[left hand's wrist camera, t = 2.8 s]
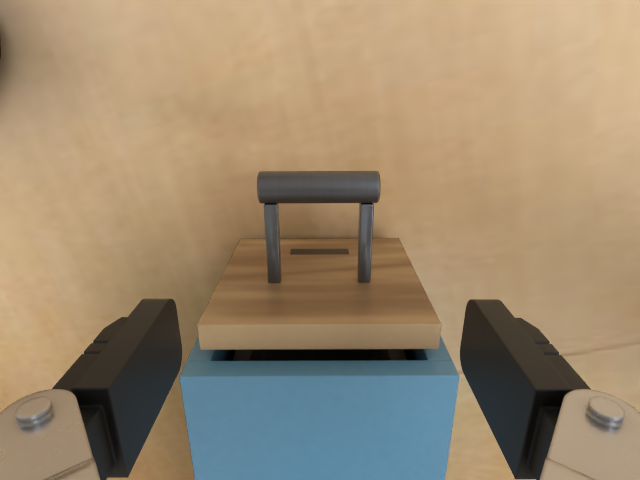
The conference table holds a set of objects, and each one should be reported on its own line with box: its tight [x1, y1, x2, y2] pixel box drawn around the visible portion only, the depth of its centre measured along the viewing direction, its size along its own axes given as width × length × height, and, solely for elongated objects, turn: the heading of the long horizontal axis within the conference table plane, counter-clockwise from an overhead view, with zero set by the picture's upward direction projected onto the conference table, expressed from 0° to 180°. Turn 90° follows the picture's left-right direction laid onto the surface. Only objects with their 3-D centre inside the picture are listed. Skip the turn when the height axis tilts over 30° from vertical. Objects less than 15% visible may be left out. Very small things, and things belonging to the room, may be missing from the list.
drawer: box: [197, 171, 441, 361], centre depth 24 cm, size 26×10×10 cm, turn 0°
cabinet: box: [180, 336, 459, 480], centre depth 26 cm, size 22×11×12 cm, turn 0°
